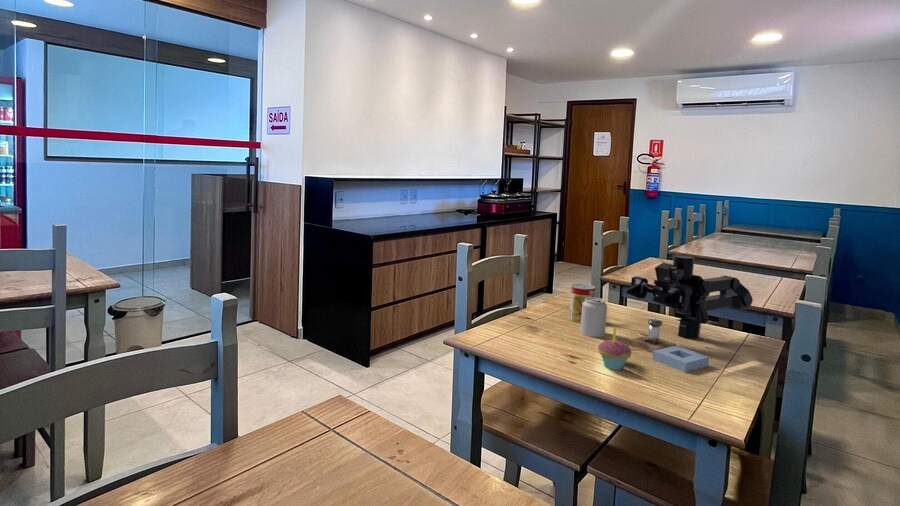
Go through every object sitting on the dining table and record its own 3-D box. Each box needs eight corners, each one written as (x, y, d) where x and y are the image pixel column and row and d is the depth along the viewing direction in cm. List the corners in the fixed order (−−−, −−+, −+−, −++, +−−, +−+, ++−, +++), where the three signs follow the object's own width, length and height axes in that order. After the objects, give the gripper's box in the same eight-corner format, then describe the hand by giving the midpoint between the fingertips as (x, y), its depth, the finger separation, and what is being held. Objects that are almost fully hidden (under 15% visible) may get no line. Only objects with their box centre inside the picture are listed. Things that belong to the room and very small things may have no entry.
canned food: (594, 323, 181) (597, 289, 179) (571, 322, 181) (574, 288, 179) (589, 317, 189) (592, 283, 187) (567, 316, 189) (569, 283, 187)
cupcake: (624, 375, 136) (629, 330, 134) (592, 367, 141) (595, 324, 139) (633, 365, 144) (637, 322, 142) (601, 358, 148) (605, 316, 146)
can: (605, 341, 163) (608, 303, 161) (580, 338, 164) (583, 301, 162) (603, 333, 170) (606, 297, 168) (579, 331, 171) (582, 295, 169)
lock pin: (651, 343, 159) (654, 318, 157) (662, 347, 156) (665, 322, 154) (642, 345, 157) (645, 320, 155) (653, 349, 154) (656, 323, 152)
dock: (675, 357, 151) (676, 345, 150) (707, 369, 143) (709, 357, 142) (651, 362, 146) (653, 350, 145) (684, 376, 137) (685, 363, 137)
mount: (649, 343, 162) (650, 335, 162) (675, 352, 155) (676, 344, 154) (629, 347, 158) (630, 339, 157) (654, 357, 150) (655, 348, 150)
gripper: (651, 258, 167) (616, 262, 159) (706, 270, 151) (670, 274, 143) (647, 293, 169) (613, 298, 161) (701, 308, 153) (666, 314, 145)
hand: (639, 295), depth 152 cm, fingers open, 9 cm apart
